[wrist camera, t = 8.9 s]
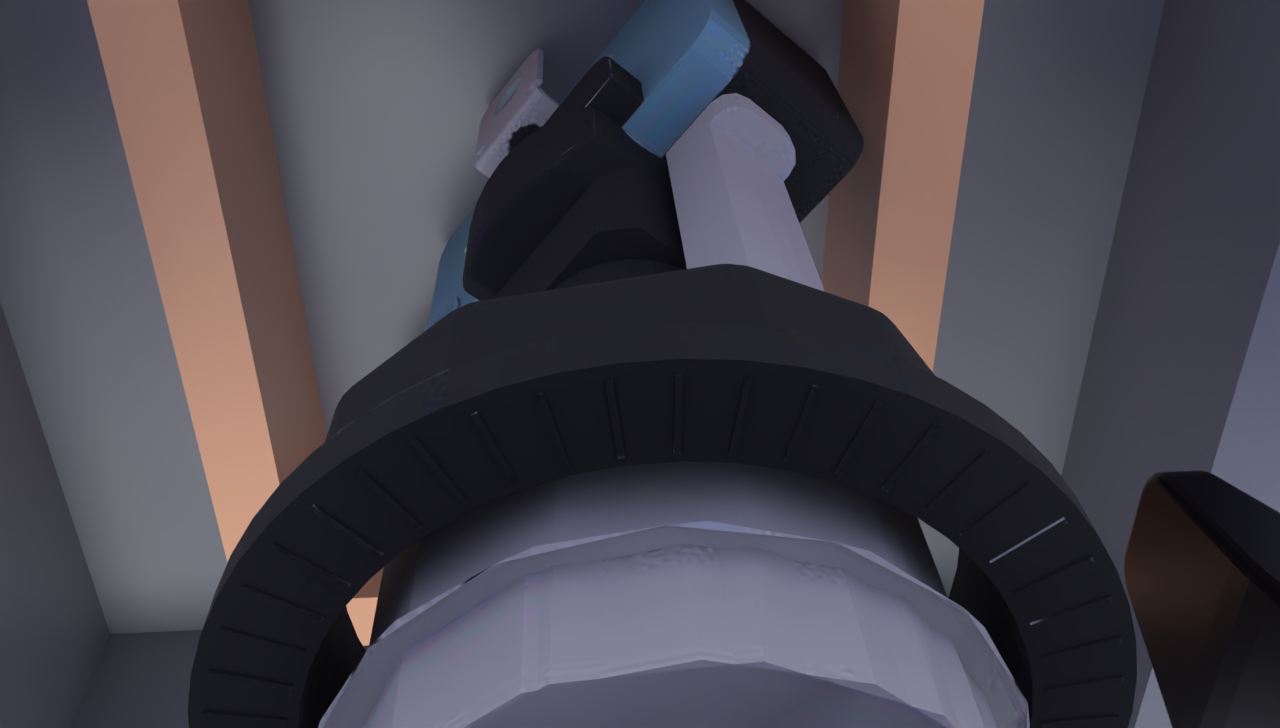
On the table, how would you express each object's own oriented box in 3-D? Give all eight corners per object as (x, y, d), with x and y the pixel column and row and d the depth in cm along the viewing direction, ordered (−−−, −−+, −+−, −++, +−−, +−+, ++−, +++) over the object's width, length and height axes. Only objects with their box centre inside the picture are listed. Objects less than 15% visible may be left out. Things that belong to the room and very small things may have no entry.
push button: (580, 470, 17) (599, 1326, 9) (240, 260, 15) (-164, 1109, 7) (928, 115, 15) (1430, 835, 6) (575, -195, 13) (604, 248, 4)
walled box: (1383, -663, 11) (1731, -769, 8) (1074, 609, 20) (1179, 817, 17) (-396, -656, 11) (-837, -769, 7) (72, 655, 19) (-31, 881, 16)
